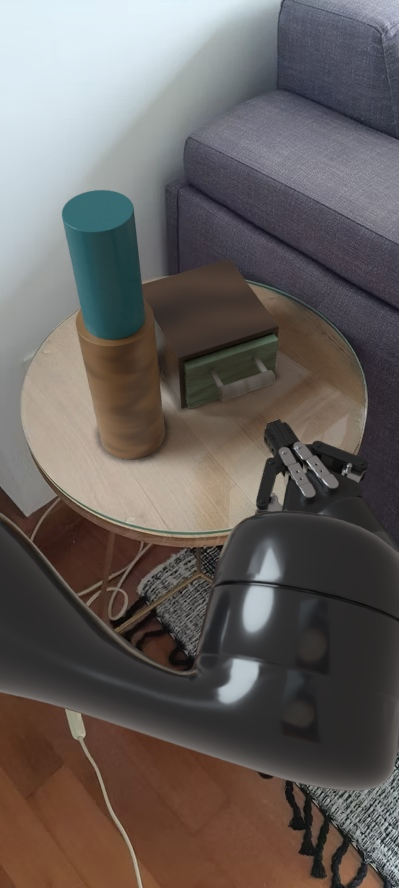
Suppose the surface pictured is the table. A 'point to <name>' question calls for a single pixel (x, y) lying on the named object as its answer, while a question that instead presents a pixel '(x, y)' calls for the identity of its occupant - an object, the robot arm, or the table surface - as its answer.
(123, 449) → the stand
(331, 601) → the robot arm
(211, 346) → the cabinet
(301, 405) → the table surface
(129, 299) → the cylinder
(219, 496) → the table surface
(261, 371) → the drawer
